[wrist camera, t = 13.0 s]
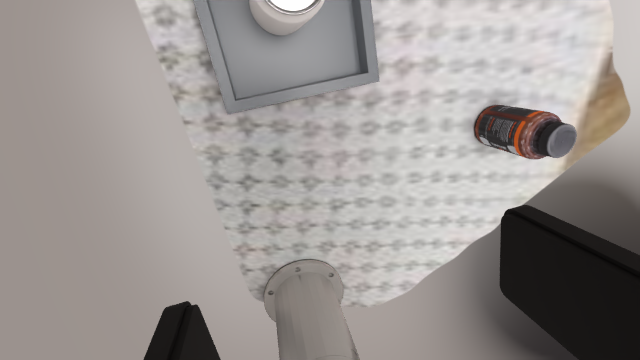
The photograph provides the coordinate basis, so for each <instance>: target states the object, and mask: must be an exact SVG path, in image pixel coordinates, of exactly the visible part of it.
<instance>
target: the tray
mask: <svg viewBox="0 0 640 360" xmlns="http://www.w3.org/2000/svg"><path fill="white" fill-rule="evenodd" d="M193 1H194V4H195V8H196V11H197V14H198V18H199V21H200V24H201V27H202V31H203V34H204V37H205V41H206V44H207V47H208V51H209V54H210V57H211V61H212V64H213V67H214V71H215V74H216V77H217V81H218V84H219V87H220V91H221V94H222V97H223V101H224V104H225V107H226V110H227V114H232V113H236V112H241V111H245V110H250V109H255V108H259V107H264V106H268V105H273V104H277V103H282V102H287V101H291V100H296V99H300V98H305V97H310V96H314V95H319V94H323V93H328V92H332V91H337V90H342V89H346V88H351V87H355V86H360V85H365V84H369V83H374V82H378V81H379V73H378V63H377V54H376V44H375V35H374V25H373V16H372V6H371V0H325V1H324V3H323V5H322V7H321V8H320V9H319V11H318V12H317V13H316V14H315V15H314V16H313V17H312V18H311V19H310V20H309V21H308V22H306V23H305V24H304V25H303V26H302V27H300V28H299V29H298V30H297V31H295V32H293V33H291V34H289V35H282V36H280V35H274V34H271V33H269V32H267V31H265V30H264V29H263V28H262V27H260V25H259V24H258V23H257V22H256V20H255V19H254V17H253V15H252V12H251V9H250V4H249V0H193Z"/></svg>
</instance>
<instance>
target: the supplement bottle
mask: <svg viewBox="0 0 640 360" xmlns="http://www.w3.org/2000/svg"><path fill="white" fill-rule="evenodd" d="M475 133H476V136H477V138H478V140H479V141H480V142H481V143H483V144H485V145H488V146H491V147H494V148H497V149H500V150H504V151H507V152H510V153H513V154H516V155H519V156H522V157H525V158H529V159H540V158H544V157H546V156H550V157H553V158H559V157H562V156H564V155H566V154H567V153H568V152H569V151H570V150H571V149H572V148H573V146H574V144H575V142H576V137H577V134H576V130H575V128H574V127H573V126H572V125H570V124H565V123H562V122H561V120H560V118H559V117H558V116H557V115H555V114H553V113H550V112H544V111H538V110H531V109H524V108H517V107H510V106H503V105H494V106H491V107H489V108H487V109H486V110H485V111H483V112H482V114H481V115H480V116H479V118H478V120H477V122H476V126H475Z"/></svg>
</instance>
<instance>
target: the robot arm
mask: <svg viewBox="0 0 640 360" xmlns="http://www.w3.org/2000/svg"><path fill="white" fill-rule="evenodd" d="M500 288H501V291H502V293H503V294H504V295H505V296H506V298H508V299H509V300H510V301H511V302H512V303H513V304H515V305H516V306H517V307H518V308H519V309H520V310H522V311H523V312H524V313H525V314H526V315H528V316H529V317H530V318H531V319H532V320H533V321H534V322H536V323H537V324H538V325H539V326H540V327H541V328H543V329H544V330H545V331H546V332H547V333H548V334H550V335H551V336H552V337H553V338H554V339H555V340H557V341H558V342H559V343H560V344H561V345H562V346H563V347H565V348H566V349H567V350H568V351H569V352H570V353H572V354H573V355H574V356H575V357H576V358H578V359H579V360H640V255H638V254H636V253H633V252H631V251H629V250H627V249H625V248H622V247H620V246H618V245H616V244H613V243H611V242H609V241H607V240H605V239H602V238H600V237H598V236H596V235H593V234H591V233H589V232H587V231H584V230H582V229H580V228H578V227H576V226H574V225H571V224H569V223H567V222H565V221H562V220H560V219H558V218H556V217H554V216H551V215H549V214H547V213H545V212H542V211H540V210H538V209H536V208H533V207H531V206H528V205H522V206H518V207H515V208H511V209H508V210H507V211H506V212H505V213H504V216H503V217H502V218H501V248H500ZM343 292H344V291H343V284H342V281H341V278H340V276H339V274H338V273H337V272H336V270H335V269H334V268H332V267H331V266H330V265H328V264H326V263H324V262H320V261H317V260H301V261H297V262H293V263H291V264H289V265H286V266H285V267H283V268H281V269H280V270H279V271H278V272H276V273H275V274H274V275H273V276H272V278H271V279H270V280H269V282H268V284H267V286H266V289H265V292H264V304H265V309H266V311H267V313H268V315H269V316H270V317H271V319H272V320H274V321H275V322H276V324H277V335H278V345H279V357H280V360H360V359H359V356H358V353H357V350H356V348H355V345H354V342H353V340H352V337H351V334H350V331H349V329H348V326H347V323H346V320H345V318H344V315H343V312H342V310H341V307H340V303H341V301H342V298H343ZM144 360H220V357H219V355H218V352H217V350H216V347H215V345H214V343H213V340H212V338H211V335H210V333H209V330H208V328H207V326H206V323H205V321H204V318H203V316H202V313H201V311H200V309H199V307H198V305H191V304H190V302H188V301H186V302H183V303H179V304H176V305H172V306H169V307H166V308H165V309H164V311H163V313H162V315H161V318H160V320H159V323H158V325H157V328H156V330H155V333H154V335H153V337H152V340H151V343H150V345H149V347H148V350H147V353H146V355H145V357H144Z"/></svg>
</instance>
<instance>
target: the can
mask: <svg viewBox="0 0 640 360" xmlns="http://www.w3.org/2000/svg"><path fill="white" fill-rule="evenodd" d="M324 1H325V0H249V4H250V9H251V12H252V15H253V17H254V19H255V20H256V22H257V23H258V24H259V25H260V27H262V28H263V29H264V30H265V31H267V32H269V33H271V34H274V35H280V36H282V35H289V34H291V33H293V32H295V31H297V30H298V29H299V28H300V27H302V26H303V25H304V24H305V23H306V22H308V21H309V20H310V19H311V18H312V17H313V16H314V15H315V14H316V13H317V12H318V11H319V9H320V8H321V7H322V5H323V3H324Z"/></svg>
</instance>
